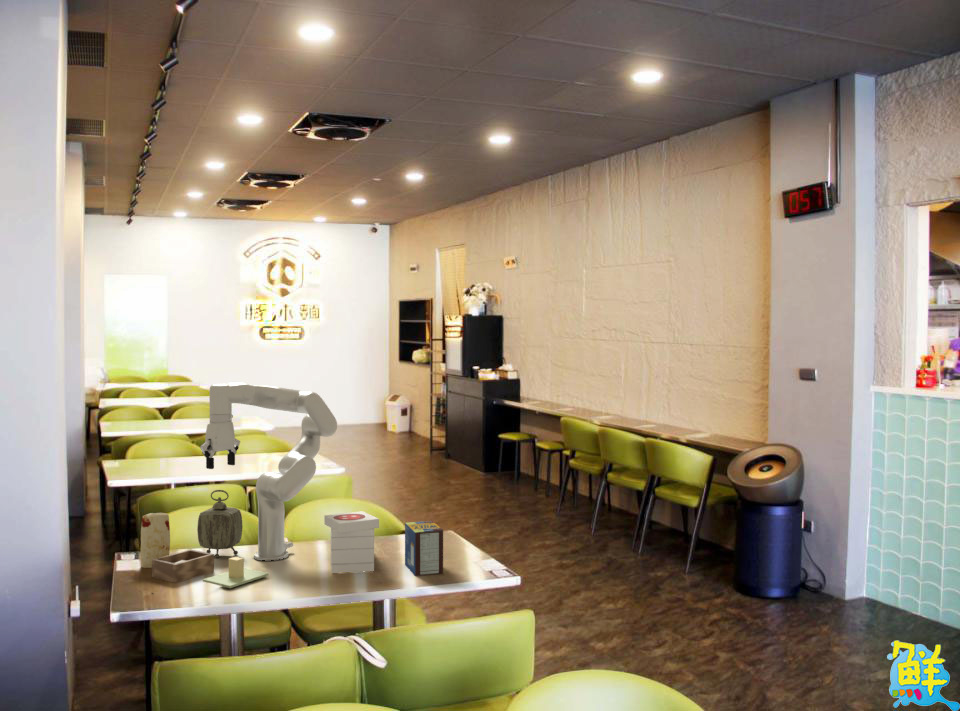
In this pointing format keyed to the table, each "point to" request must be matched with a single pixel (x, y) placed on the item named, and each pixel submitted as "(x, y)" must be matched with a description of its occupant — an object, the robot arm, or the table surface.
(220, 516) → the tabletop clock
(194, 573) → the box
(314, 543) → the table surface
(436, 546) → the protein box
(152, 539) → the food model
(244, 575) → the lid
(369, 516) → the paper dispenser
